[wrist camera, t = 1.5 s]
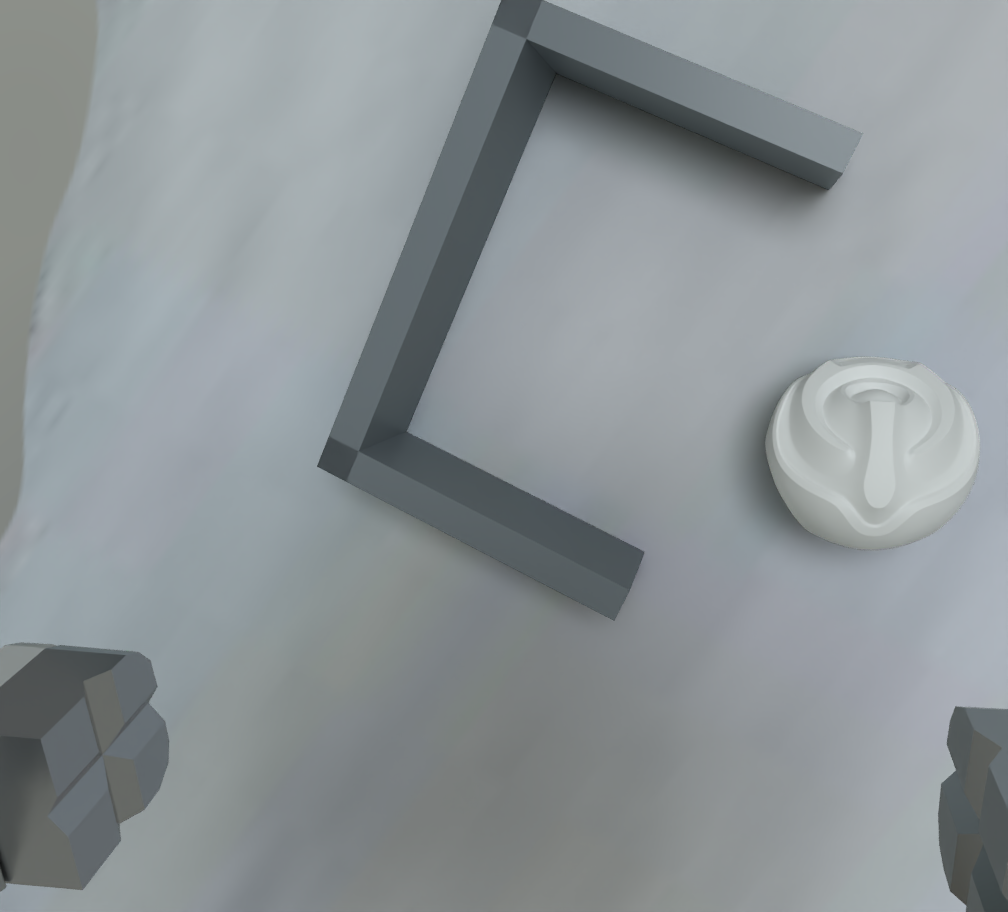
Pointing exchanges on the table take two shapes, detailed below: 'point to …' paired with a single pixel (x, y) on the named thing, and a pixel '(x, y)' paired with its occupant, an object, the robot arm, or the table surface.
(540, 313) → the table surface
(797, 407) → the white swirled ball
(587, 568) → the box
